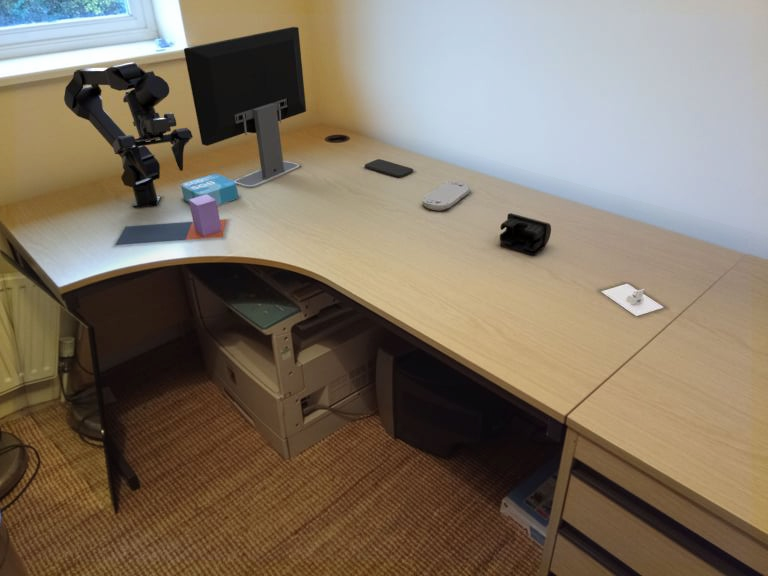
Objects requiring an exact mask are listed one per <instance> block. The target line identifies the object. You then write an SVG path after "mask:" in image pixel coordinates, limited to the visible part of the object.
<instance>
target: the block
mask: <svg viewBox="0 0 768 576" xmlns="http://www.w3.org/2000/svg"><path fill="white" fill-rule="evenodd" d="M188 203H189V204H188V205H189V208H190V213H191V218H192V222H193V223H194V228H195V231H197V232H198V233H199V234H201V235H202V236H204V237H205V236H208V235H211V234H214V233H217V232H220V231H222V229H221V223H220V220H221V218H220V214H219V209H218V205H217V202H216V200H215V199H214V198H212V197H210V196H209V195H207V194H206V195H203V196H200V197H196V198H193V199H190V200H189V202H188Z"/></svg>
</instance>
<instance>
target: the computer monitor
mask: <svg viewBox="0 0 768 576" xmlns="http://www.w3.org/2000/svg"><path fill="white" fill-rule="evenodd" d="M300 40H301V39H300V30H299V27H298V26H290V27H285V28H279V29H276V30H271V31H270V30H269V31H264V32H259V33H255V34H250V35H246V36H244V35H243V36H240V37H239V36H238V37H235V38H229V39H225V40H224V39H223V40H219V41H213V42H209V43H205V44H199V45H195V46H189V47H185V48H184V49H183V53H184V58H185V63H186V68H187V74H188V78H189V79H188V80H189V83H190V84H189V85H190V90H191V95H192V100H193V106H194V110H195V115H196V120H197V125H198V130H199V137H200V141H201V145H202V146H206V147H209V146H211V145H214V144H217V143H220V142H223V141H226V140H228V139H231V138H235V137H237V136H240V135H243V134H244V136H247V135H248V133H249V134H256V141H257V147H258V155H259V156H258V157H259V163H260V169H259V170H255V171H253V172H251V173H249V174H246V175H243V176H241V177H239V178H236V179H234V180H233V181H234V182H236V185H237V186H241V187H245V188H256V187H258V186H260V185H262V184H265V183H266V182H269V181H272V180H274V179H276V178H279V177H280V176H282V175H285V174H287V173H290V172H292V171H294V170H296V169H299V167H300V164H299V163H296V162H292V161H287V160H284V158H283V150H282V142H281V134H280V126H279V124H282V121H283V120H286V119H289V118H292V117H295V116H297V115H300V114H304V113H306V112H307V105H306V94H305V84H304V73H303V72H304V71H303V61H302V52H301V51H302V50H301V41H300Z"/></svg>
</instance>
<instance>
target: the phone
mask: <svg viewBox="0 0 768 576" xmlns="http://www.w3.org/2000/svg"><path fill="white" fill-rule="evenodd" d="M364 168H366V169H369V170H373V171H376V172H379V173H381V174H385V175H389V176H391V177H395V178H402V177H405V176H407V175H410V174H412V173H413V172H414V168H412V167H408V166H405V165H403V164H402V165H401V164H398V163H395V162H391V161H388V160H384V159H380V158H378V159H375V160H374V159H373V160H371V161H370V162H367V163H365V164H364Z"/></svg>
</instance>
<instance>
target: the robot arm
mask: <svg viewBox="0 0 768 576" xmlns="http://www.w3.org/2000/svg"><path fill="white" fill-rule="evenodd" d="M100 86H110V89H112V90H115V91H119V92H121V91H125V94H124V96H123V98H122V101H123V103H127V105H128V108H129V111H130V114H131V116H132V119H133V122H132V125H133V127H135V128H136V131H137V134H138V138H135V136H133V134H129V135H127V134H125V132H124V130H122V129H121V127H119V125H118V124H117V123H116V122H115V121H114V119H113V118H112V117H111V116H110V115H109V114H108V113H107V111H105V109H104V105H103V99H102V97H101V96H102V91H103V90H102V89H101V87H100ZM128 90H130V91H128ZM169 94H170V86H169V84H168V82H167V81H166V80H165V79H164V78H162V77H161V76H159V75H156V74H155V72H154V71H153V70H150V71H145V70H144V69H142V68H141V67H140V66H138V64H137V63H136V62H127V63H123V64H118V65H113V66H110V67H84V68H79V69H76V70H75V71H73V75H72V79H71V80H70V81H69V82H68V84H67V85H66V86H65V90H64V96H63V101H64V104H65V105H66V107H67V108H68V109H69V110H70V111H71V112H72V113H73V114H74V115H76V117H78V118H81V119H84V120H87V121H89V123H90V124H91V125H92V126H93V127H94V128H95V130H97V132H98V133H99V134H100V135H101V136H102V137H103V139H104V140H106V142H107V143H108V144H109V145H110V146H111V148H112V149H113V152H114V154H115V155H118V156H119V157H120V158H121V162H122V169H123V170H124V171H123V173H122V175H121V177H120V179H121V181H122V183H123V185H124V186H125V187H129V188H132V191H133V195H134V198H135V201H134V202H133V204H132V207H133V208H141V207H153V206H154V207H155V206H158V204H159V202H160V200H161V198H162V195H161V194H159V195H158V194H157V192H156V187H155V183H154V181H155V180H160V178H161V174H160V173H161V167H160V166H161V165H160V162H159V160H158V159H157V158H156V157H155V154H153V153H152V152H151V151H150V149H149V148H148V147H147V146H151V145H157V144H158V145H159V144H165V143H170V144H171V145H172V146H171V151H172V154H173V156H174V159H175V163H176V165H177V168H178V170H179V171H180V172H182V171H183V170H184V150H185V146H186V145H187V144H188V143H189V141H191V140H192V139H193V138H194V137H193V134H192V131H191V130H190V129H189V128H188V127H182V128H175V129H173V130H172V129H171V128H173V127H177V120H176V117H175V115H174V113H173V112H170V113H164V114H163V117H161V116H160V113H159V112H156V109H155V107H156V106H157V105H159V104H160V103H161V102H162V101H163V100H165V99H166V98H167V97H168V96H169ZM168 132H170V133H168ZM167 133H168V134H167Z"/></svg>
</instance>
